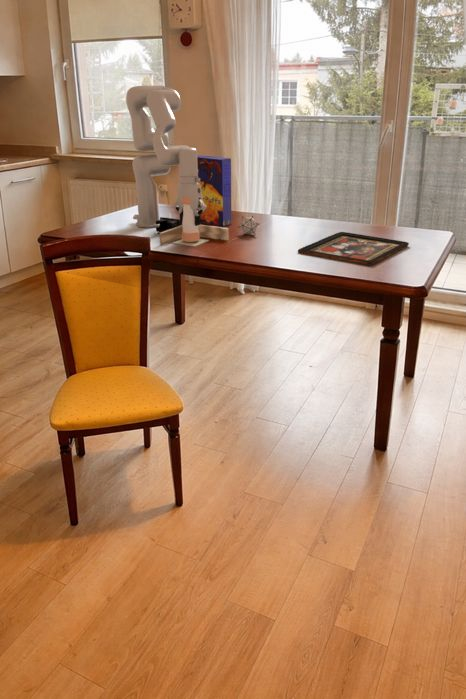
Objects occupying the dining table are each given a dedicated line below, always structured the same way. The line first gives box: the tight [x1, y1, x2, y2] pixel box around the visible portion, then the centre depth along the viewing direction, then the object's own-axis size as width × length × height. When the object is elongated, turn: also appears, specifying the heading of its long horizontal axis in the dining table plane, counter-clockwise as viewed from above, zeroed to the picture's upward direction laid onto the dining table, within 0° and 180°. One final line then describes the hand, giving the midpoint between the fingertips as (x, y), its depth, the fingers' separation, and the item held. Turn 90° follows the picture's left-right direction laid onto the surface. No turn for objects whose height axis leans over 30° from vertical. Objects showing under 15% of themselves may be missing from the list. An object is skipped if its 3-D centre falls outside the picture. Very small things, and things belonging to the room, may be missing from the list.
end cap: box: [155, 216, 182, 236], centre depth 261 cm, size 10×7×7 cm
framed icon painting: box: [297, 231, 410, 267], centre depth 235 cm, size 38×35×3 cm
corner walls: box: [159, 224, 230, 246], centre depth 247 cm, size 21×21×5 cm
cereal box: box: [197, 154, 233, 227], centre depth 276 cm, size 22×6×30 cm, turn 48°
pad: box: [172, 238, 210, 247], centre depth 248 cm, size 11×11×1 cm
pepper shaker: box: [181, 197, 201, 242], centre depth 244 cm, size 7×7×19 cm
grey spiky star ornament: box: [237, 215, 260, 236], centre depth 258 cm, size 9×8×10 cm
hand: (190, 223), depth 245 cm, fingers closed on pepper shaker, 6 cm apart
